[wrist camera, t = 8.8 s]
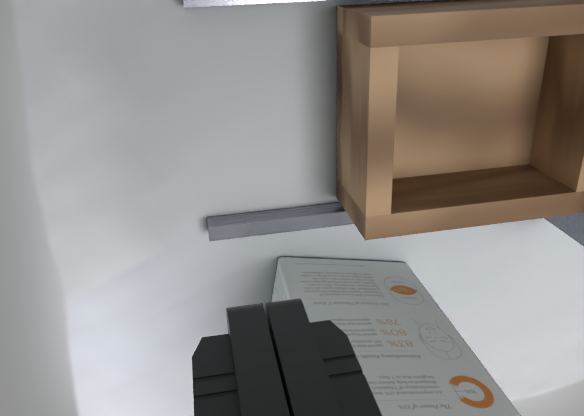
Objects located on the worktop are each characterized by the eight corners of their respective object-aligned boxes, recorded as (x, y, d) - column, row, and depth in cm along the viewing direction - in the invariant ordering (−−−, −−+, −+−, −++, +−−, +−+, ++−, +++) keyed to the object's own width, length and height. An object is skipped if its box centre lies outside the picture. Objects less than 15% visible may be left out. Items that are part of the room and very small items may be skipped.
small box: (261, 345, 33) (308, 553, 22) (277, 253, 31) (338, 433, 19) (385, 346, 35) (488, 538, 24) (408, 260, 33) (537, 427, 21)
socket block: (337, 5, 26) (371, 16, 21) (565, -7, 28) (639, 1, 23) (336, 197, 30) (365, 239, 26) (534, 175, 32) (592, 211, 27)
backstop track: (178, -36, 24) (181, -33, 17) (607, -53, 27) (761, -56, 20) (210, 245, 30) (221, 336, 23) (558, 203, 33) (663, 271, 26)
